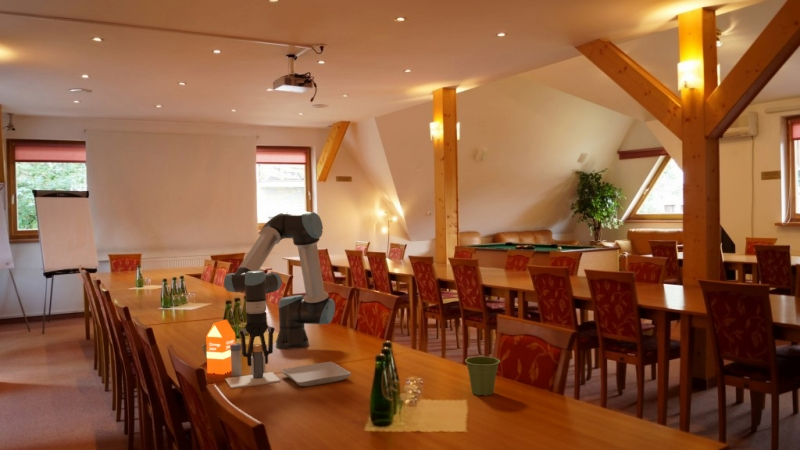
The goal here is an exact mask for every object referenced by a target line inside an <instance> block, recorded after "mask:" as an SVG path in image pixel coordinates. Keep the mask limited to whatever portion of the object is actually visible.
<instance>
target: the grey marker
mask: <svg viewBox="0 0 800 450" xmlns="http://www.w3.org/2000/svg"><path fill="white" fill-rule="evenodd" d="M230 351H231V371H230V372H231V375H230V376H231V377H239V376H243V375H242V374H243V373H242V347H241V343H235V344H231V345H230Z"/></svg>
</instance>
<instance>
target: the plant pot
mask: <svg viewBox="0 0 800 450" xmlns="http://www.w3.org/2000/svg"><path fill="white" fill-rule="evenodd" d="M464 362H465V363H466V368H467V370H468V376H469V382H470V388H471V394H473V395H476V396H485V397H487V396H492V395H493V394H494V390H495V385H496V384H495V383H496V379H497V373H498V368H499V364H500V363H501V360H500V359H499V358H496V357H491V356H483V355H482V356H471V357H467V358H466V359H465V360H464ZM491 394H492V395H491Z"/></svg>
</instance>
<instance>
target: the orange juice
mask: <svg viewBox="0 0 800 450" xmlns="http://www.w3.org/2000/svg"><path fill="white" fill-rule="evenodd" d="M205 338H206V339H205V340H206V344H207V358H206V367H207V371H206V372H207V374H213V373H215V375H225V373H226V374H228V373H230V372H231V351H230V345H231V344H236V333H235V331H234V330H233V328H232V326H231V324H230V323H229V321H228V320H227V319H223V320H221V321H217V322H214V323H213V324H212V326H211V328H210V329H209V331H208V332H207V335H206V336H205ZM227 372H228V373H227Z"/></svg>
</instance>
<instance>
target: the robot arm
mask: <svg viewBox="0 0 800 450" xmlns="http://www.w3.org/2000/svg"><path fill="white" fill-rule="evenodd" d="M323 229H324V228H323V222H322V218H321V217H320V216H319V214H318V213H316V212H314V211H297V212H296V211H290V212H287V211H285V212H281V213H278V214H276V215H274V216H273V217H271V218H270V219H269V220H268V221H267V222H266V223H265V224H264V225H263V227H262V228H261V229H260V230H259V231H260V232H259V236H258V238H257V239H256V241H255V242H254V244H253V245H252V247H251V248H250V250H249V252H248V253H247V255H246V256H245V258H244V259H243V261H242V262H241V263H240V264H239V266H238V268H237V269H236V271H235V272H231V273H227V274H226V275H225V276H224V280H223V286H224V289H225V291H227V292H229V293H235V294H236V293H245V312H246V314H245V318H246V322H245V326H244V328H243V329H239V330H238V334H239V336H240V344H241V356H243V357H245V358H246V360H247V366H248V367H249V369H250V371H249V372H250V375H254V361H253V357H252V349H253V345H254V343H255V338H257V337H259V339H260V345H262V346H263V351H262V352H263V373H267V370H266V365H267V364H268V363H269V355H271V354H273V352H274V350H273V349H274V348H273V347H274V333H275V327H273V326H269V325H268V323H267V318H268V317H267V312H266V311H267V296H266V295H267V294H271V293H274V292H277V291H278V290H280V289H281V287H282V284H283V280H282V277H281V276H280V274H279V273H276V272H268V273H266V272H265V271H263V270H261V268H262V266H263V265H264V263H265V261H266V260H267V258H268V257H269V255H270V254H271V252H272V250H273V249H274V247H275V245H278V244H279V243H281V240H283V239H292V240H293V241H292V242H293V245H294V246H296V247H297V250H298V257H299V262H300V268H301V273H302V274H301V275H302V278H303V285H304V291H305V295H302V294H298V295H289V296H285V297H281V298H280V299H279V300H278V324H279V328H278V329H279V330H278V332H277V333H278V334H277V337H276V340H275V346H276V348H278V349H284V350H286V349H289V350H290V349H301V348H305V347H307V346H309V344H310V342H309V340H310V339H309V337H308V334H307V332H306V328H305V325H328V324H330V323H331V322H332V321H333V318H334V316H335V312H336V302H335V300H334V299H332V298H330V296H329V293H328V292H327V291H325V285H324V280H323V275H322V268H321V262H320V256H319V248H318V242H319V241H320V238H321V237H322V235H323V233H324V232H323ZM266 332H268V338H267V340H268V343H267V344H266V338H265V333H266ZM246 333H247V334H248V335H249V341H248V346H247V345H246V343H247V342H246V337H245V336H246ZM267 345H268V347H267Z"/></svg>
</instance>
